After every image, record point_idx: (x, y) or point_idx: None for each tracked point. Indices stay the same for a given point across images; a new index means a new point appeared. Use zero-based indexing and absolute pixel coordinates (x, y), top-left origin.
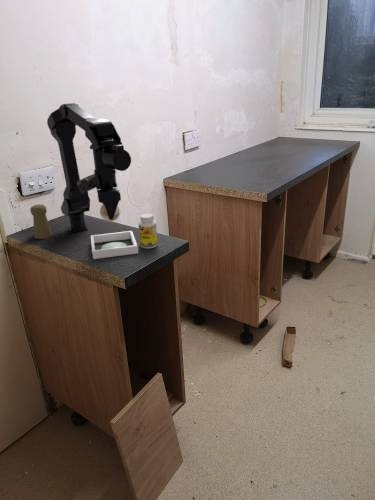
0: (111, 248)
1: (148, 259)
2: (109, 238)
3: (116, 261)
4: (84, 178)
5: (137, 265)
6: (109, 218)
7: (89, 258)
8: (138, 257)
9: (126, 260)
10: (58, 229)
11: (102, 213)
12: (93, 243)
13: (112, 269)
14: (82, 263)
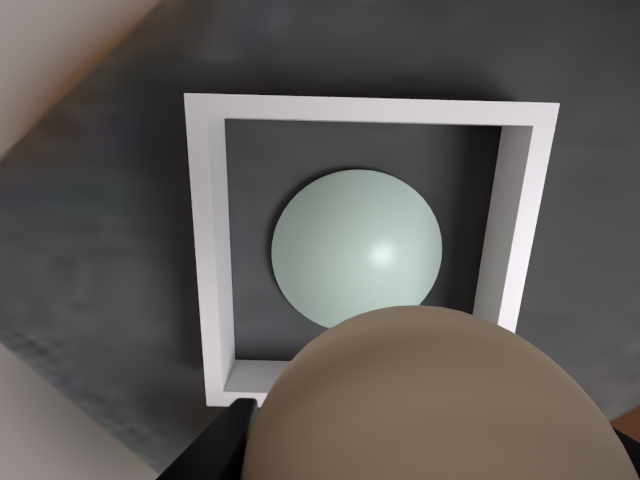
0: (206, 245)
1: (124, 405)
2: (493, 245)
3: (133, 244)
4: None
5: (56, 344)
6: (228, 411)
7: (225, 71)
8: (162, 365)
9: (135, 300)
10: None
11: (312, 373)
12: (357, 115)
13: (21, 208)
14: (149, 12)
